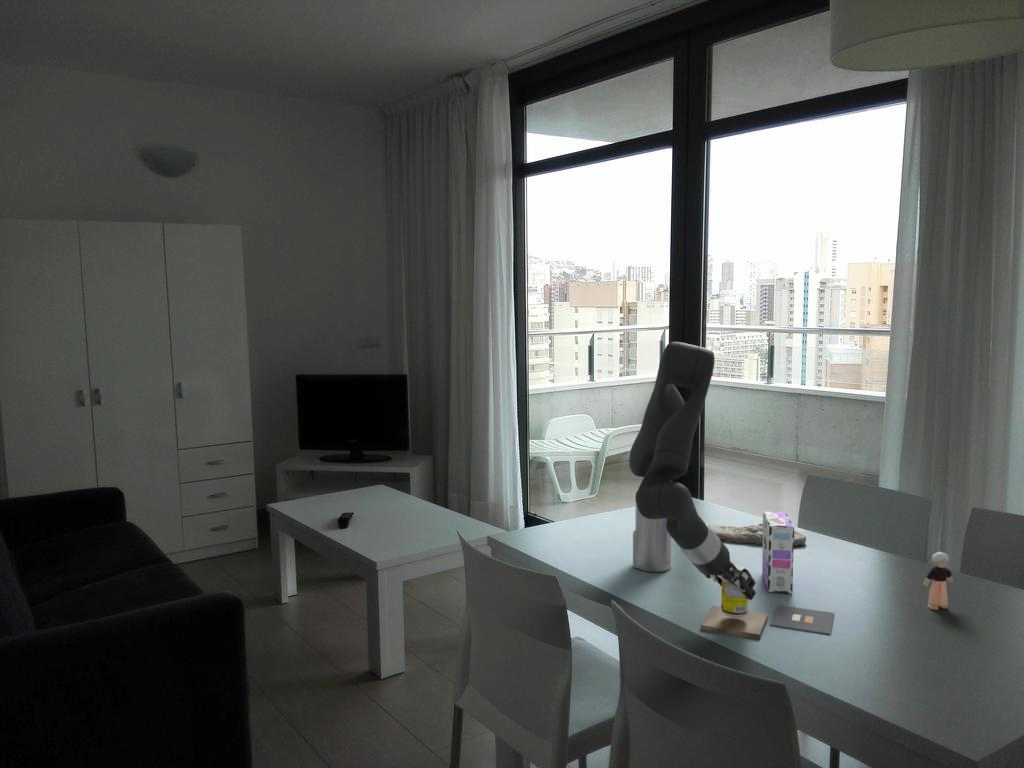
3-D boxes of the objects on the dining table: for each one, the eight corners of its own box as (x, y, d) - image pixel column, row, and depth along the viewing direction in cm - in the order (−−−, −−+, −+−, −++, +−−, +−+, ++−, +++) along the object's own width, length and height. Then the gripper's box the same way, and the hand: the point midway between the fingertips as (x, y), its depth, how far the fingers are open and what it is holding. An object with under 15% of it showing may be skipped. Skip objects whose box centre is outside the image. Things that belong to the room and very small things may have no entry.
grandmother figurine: (935, 612, 175) (938, 557, 174) (919, 607, 178) (922, 552, 177) (957, 606, 178) (960, 551, 177) (941, 600, 182) (943, 547, 181)
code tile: (770, 625, 169) (770, 624, 169) (777, 605, 180) (777, 604, 180) (830, 635, 164) (830, 633, 164) (834, 614, 175) (834, 612, 175)
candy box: (793, 594, 187) (795, 526, 185) (767, 593, 188) (768, 525, 186) (785, 574, 200) (786, 511, 199) (761, 573, 202) (762, 510, 200)
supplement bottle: (728, 606, 174) (728, 561, 173) (752, 612, 170) (753, 566, 169) (716, 614, 170) (717, 567, 169) (741, 620, 166) (742, 573, 165)
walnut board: (700, 629, 168) (700, 625, 168) (712, 609, 178) (712, 605, 178) (759, 639, 162) (759, 634, 162) (767, 618, 173) (767, 613, 173)
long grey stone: (683, 534, 241) (679, 545, 232) (682, 517, 241) (678, 528, 231) (806, 538, 230) (806, 550, 220) (805, 520, 229) (806, 532, 220)
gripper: (740, 541, 158) (776, 587, 166) (686, 525, 170) (722, 568, 178) (721, 572, 156) (759, 617, 164) (668, 553, 167) (706, 596, 175)
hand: (740, 591), depth 171 cm, fingers closed on supplement bottle, 5 cm apart
